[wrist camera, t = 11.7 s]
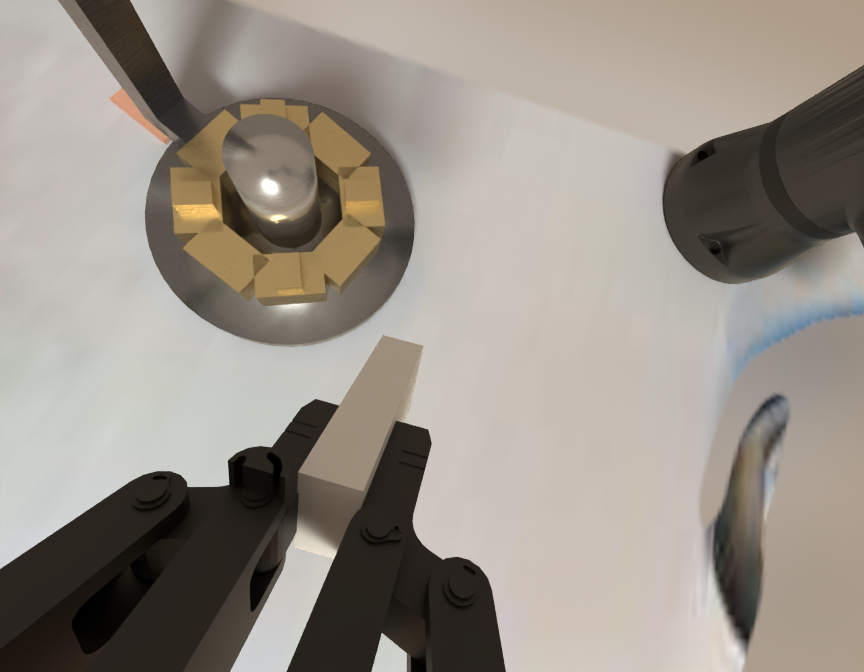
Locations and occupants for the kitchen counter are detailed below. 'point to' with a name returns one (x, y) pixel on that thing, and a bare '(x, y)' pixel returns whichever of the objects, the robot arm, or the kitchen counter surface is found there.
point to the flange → (282, 229)
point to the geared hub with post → (211, 184)
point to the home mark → (136, 114)
